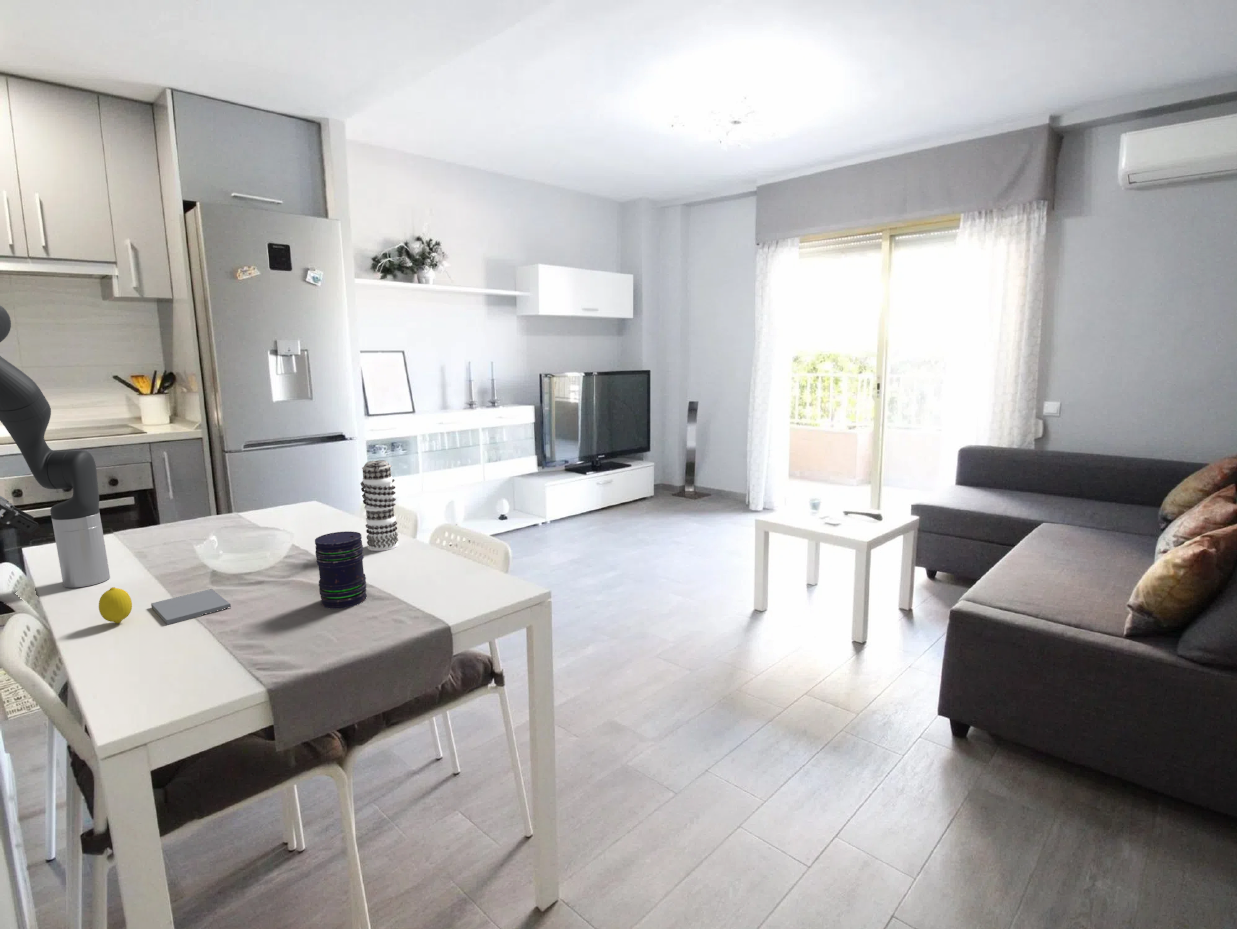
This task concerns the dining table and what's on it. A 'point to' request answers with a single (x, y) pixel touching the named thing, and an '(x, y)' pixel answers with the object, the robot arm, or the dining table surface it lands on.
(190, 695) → the dining table surface
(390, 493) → the decorative candle
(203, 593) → the mat
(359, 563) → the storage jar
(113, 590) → the lemon
